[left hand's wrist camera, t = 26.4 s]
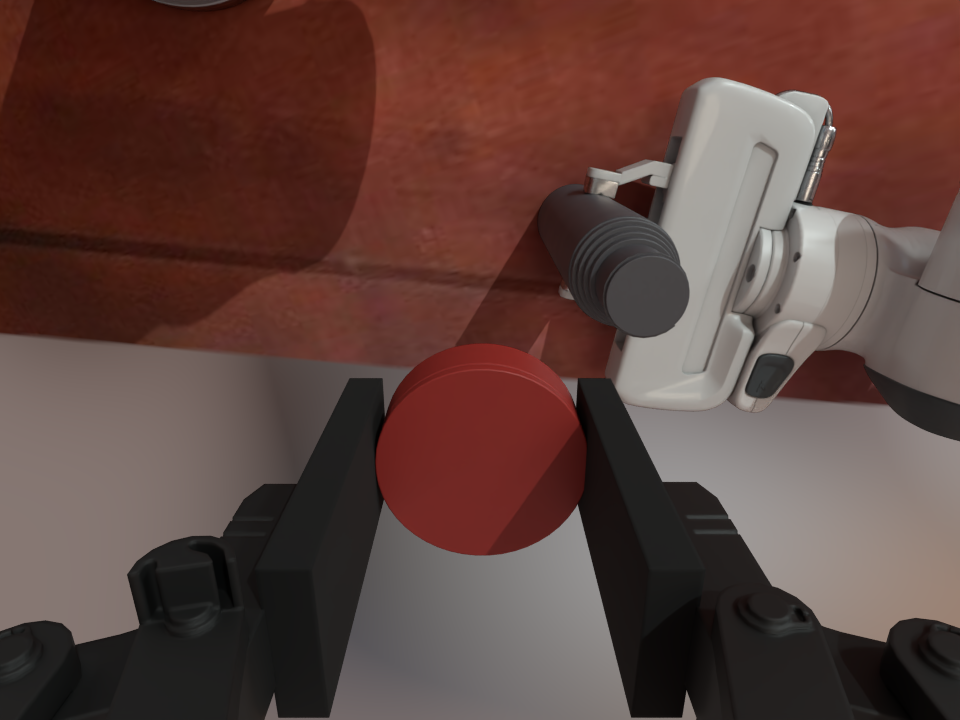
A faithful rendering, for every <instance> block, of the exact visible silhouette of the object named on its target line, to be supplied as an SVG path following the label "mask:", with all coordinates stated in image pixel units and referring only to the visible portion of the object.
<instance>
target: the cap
mask: <svg viewBox="0 0 960 720" xmlns="http://www.w3.org/2000/svg"><path fill="white" fill-rule="evenodd" d="M586 454H587V441H586V437H585V434H584V431H583V428H582V425H581V422H580V418H579V415H578V412H577V409H576V406H575V404H574V401H573V399H572V396H571V394H570V393H569V391H568V389H567V387H566V386H565V384H564V383H563V382H562V380H561V379H560V378H559V377H558V375H557V374H556V373H554V372H553V371H552V370H551V369H550V368H549V367H548V366H547V365H545V364H544V363H543V362H541V361H540V360H539V359H537V358H535V357H533V356H531V355H529V354H528V353H525V352H523V351H520V350H518V349H515V348H511V347H507V346H503V345H496V344H468V345H461V346H457V347H453V348H449V349H447V350H444V351H442V352H439V353H437V354H435V355H433V356H431V357H429V358H427V359H426V360H424V361H423V362H422V363H420V364H419V365H417V366H416V367H415V368H414V369H413V370H412V371H411V372H410V373H409V374H408V375H407V376H406V377H405V378H404V379H403V381H402V382H401V383H400V385H399V386H398V388H397V389H396V391H395V393H394V395H393V397H392V399H391V402H390V404H389V407H388V410H387V413H386V416H385V419H384V422H383V426H382V429H381V432H380V435H379V439H378V443H377V447H376V456H375V468H376V476H377V481H378V485H379V488H380V491H381V493H382V496H383V498H384V500H385V502H386V503H387V505H388V507H389V509H390V510H391V511H392V513H393V514H394V515H395V517H396V518H397V519H398V520H399V521H400V522H401V523H402V524H403V525H404V526H405V527H406V528H407V529H408V530H410V531H411V532H412V533H413V534H415V535H416V536H418V537H419V538H421V539H422V540H424V541H426V542H428V543H430V544H432V545H434V546H436V547H439V548H442V549H445V550H448V551H451V552H456V553H460V554H468V555H497V554H504V553H508V552H513V551H517V550H519V549H522V548H525V547H528V546H530V545H532V544H534V543H536V542H538V541H540V540H542V539H543V538H545V537H547V536H548V535H550V534H551V533H552V532H553V531H555V530H556V529H557V528H558V527H560V526H561V525H562V524H563V523H564V521H565V520H566V519H567V518H568V517H569V516H570V515H571V513H572V512H573V510H574V509H575V508H576V506H577V504H578V502H579V500H580V499H581V497H582V494H583V492H584V483H585V469H586Z"/></svg>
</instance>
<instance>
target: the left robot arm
mask: <svg viewBox="0 0 960 720" xmlns="http://www.w3.org/2000/svg"><path fill="white" fill-rule="evenodd" d="M153 1H156V2H158V3H161V4H164V5H167V6H170V7H174V8H178V9H183V10H190V11H212V10H219V9H224V8H228V7H231V6H234V5H237V4H240V3H242V2H244V1H246V0H153ZM576 409H577V412H578V415H579V418H580V422H581V425H582V428H583V431H584V434H585V437H586V441H587V454H586V469H585V483H584V492H583V494H582V497H581V499H580V500H579V502H578V507H579V511H580V515H581V519H582V523H583V527H584V531H585V535H586V539H587V543H588V547H589V551H590V555H591V559H592V563H593V567H594V571H595V575H596V579H597V583H598V587H599V591H600V595H601V599H602V603H603V607H604V611H605V615H606V619H607V623H608V627H609V631H610V635H611V639H612V643H613V647H614V651H615V655H616V659H617V663H618V667H619V671H620V674H621V678H622V683H623V686H624V691H625V695H626V698H627V703H628V706H629V711H630V715H631V717H632V718H681V717H682V715H683V708H684V702H685V695H686V690H687V692H688V695H689V698H690V700H691V703H692V706H693V709H694V712H695V715H696V717H697V719H696V720H960V628H957V627H954V626H951V625H948V624H946V623H943V622H940V621H936V620H928V619H920V618H913V619H908V620H902V621H899V622H898V623H897V624H896V625H894V626H893V627H892V628H891V629H890V632H889V635H888V638H887V642H886V643H885V642H881V641H877V640H873V639H868V638H864V637H860V636H855V635H851V634H847V633H843V632H839V631H836V630H833V629H829V628H826V627H823V626H821V624H820V623H819V621H818V619H817V618H816V616H815V615H814V613H813V611H812V610H811V609H810V608H809V607H807V606H806V605H805V604H804V603H803V602H802V601H800V600H799V599H798V598H797V597H795V596H793V595H791V594H789V593H787V592H785V591H783V590H781V589H779V588H776V587H773V586H772V585H771V584H770V582H769V581H768V579H767V577H766V576H765V574H764V573H763V571H762V569H761V568H760V566H759V565H758V563H757V561H756V560H755V558H754V556H753V555H752V553H751V552H750V550H749V548H748V547H747V545H746V544H745V542H744V540H743V539H742V537H741V535H739V534H738V533H737V529H736V527H735V526H734V524H733V523H732V521H731V520H730V519H728V515H727V513H726V511H725V510H724V508H723V507H722V505H721V503H720V502H719V500H718V498H717V497H716V496H714V495H713V494H712V493H710V492H709V491H708V490H706V489H705V488H704V487H702V486H701V485H700V484H698V483H697V482H662V480H661V478H660V476H659V474H658V472H657V470H656V468H655V466H654V464H653V462H652V460H651V458H650V456H649V454H648V452H647V450H646V448H645V446H644V444H643V442H642V440H641V438H640V436H639V434H638V432H637V430H636V428H635V426H634V424H633V422H632V420H631V418H630V416H629V414H628V412H627V410H626V408H625V406H624V404H623V402H622V400H621V398H620V396H619V394H618V392H617V390H616V388H615V386H614V384H613V382H612V380H611V378H578V386H577V402H576ZM384 419H385V412H384V395H383V379H382V378H350V379H349V381H348V383H347V385H346V387H345V389H344V391H343V393H342V395H341V397H340V399H339V401H338V403H337V405H336V407H335V409H334V411H333V413H332V415H331V417H330V419H329V421H328V423H327V425H326V427H325V429H324V431H323V433H322V435H321V437H320V439H319V441H318V443H317V445H316V447H315V449H314V451H313V453H312V455H311V457H310V459H309V461H308V463H307V465H306V467H305V469H304V471H303V473H302V475H301V477H300V479H299V481H298V483H297V484H264V485H262V486H261V487H260V488H258V489H257V490H256V491H254V492H253V493H252V494H250V495H249V496H248V497H246V498H245V499H244V500H243V502H242V503H241V505H240V506H239V508H238V510H237V511H236V513H235V515H234V516H233V520H232V521H230V523H229V524H228V526H227V528H226V529H225V531H224V532H223V537H220V538H216V537H213V536H191V537H187V538H183V539H178V540H174V541H171V542H168V543H166V544H164V545H162V546H159V547H157V548H155V549H153V550H151V551H150V552H149V553H147V554H146V555H145V556H143V557H142V558H141V559H139V560H138V561H137V562H136V563H135V564H134V566H133V567H132V569H131V570H130V571H129V573H128V574H127V576H128V580H129V584H130V588H131V592H132V596H133V600H134V604H135V608H136V612H137V616H138V620H139V624H140V625H139V628H138V629H136V630H133V631H130V632H126V633H123V634H120V635H116V636H111V637H107V638H103V639H99V640H94V641H90V642H86V643H81V644H77V645H75V643H74V640H73V636H72V633H71V631H70V630H69V629H67V628H66V627H65V626H64V625H63V624H62V623H56V622H51V621H46V620H45V621H37V622H29V623H23V624H20V625H17V626H14V627H12V628H9V629H6V630H3V631H0V720H264V719H265V716H266V713H267V710H268V708H269V705H270V702H271V699H272V697H273V694H274V693H275V699H276V706H277V712H278V717H279V718H329V716H330V712H331V708H332V704H333V700H334V696H335V692H336V688H337V684H338V680H339V676H340V672H341V668H342V664H343V660H344V656H345V652H346V648H347V644H348V640H349V636H350V632H351V628H352V624H353V620H354V616H355V612H356V608H357V604H358V600H359V596H360V593H361V589H362V584H363V581H364V577H365V573H366V569H367V565H368V561H369V557H370V553H371V549H372V545H373V541H374V537H375V533H376V529H377V525H378V521H379V516H380V513H381V509H382V505H383V501H384V498H383V496H382V493H381V491H380V488H379V485H378V481H377V476H376V468H375V456H376V447H377V443H378V439H379V435H380V432H381V429H382V426H383V422H384Z"/></svg>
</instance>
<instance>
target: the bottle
mask: <svg viewBox="0 0 960 720" xmlns="http://www.w3.org/2000/svg"><path fill="white" fill-rule="evenodd" d="M583 187H584V185H580V184H570V185H565V186H563V187H560V188H558V189H556V190H555V191H553V192H552V193H551V194H550V195H549V196H548V197H547V198H546V199H545V201H544V202H543V204H542V206H541V208H540V211H539V215H538V230H539V234H540V236H541V238H542V240H543V242H544V244H545V246H546V248H547V250H548V252H549V254H550V255H551V257H552V259H553V261H554V263H555V265H556V267H557V268H558V270H559V272H560V274H561V276H562V278H563V280H564V282H565V283H566V285H567V287H568V289H569V291H570V293H571V295H572V297H573V298H574V300H575V302H576V303H577V305H578V306H579V307H580V308H581V310H582V311H583V312H584V313H586V314H587V315H588V316H590V317H591V318H593V319H594V320H597V321H599V322H601V323H603V324H606V325H610V326H614V327H615V328H617V329H618V330H619V331H621V332H622V333H624V334H627V335H629V336H632V337H638V338H649V337H656V336H658V335H661V334H663V333H666V332H668V331H669V330H671V329H672V328H673V327H675V324H676V323H677V322H678V321H679V320H680V318H681V317H682V316H683V314H684V312H685V310H686V308H687V305H688V302H689V296H690V289H689V282H688V279H687V276H686V273H685V271H684V270H683V268H682V267H681V265H680V258H679V254H678V251H677V249H676V247H675V244H674V242H673V241H672V239H671V237H670V236H669V235H668V234H667V232H666V231H665V230H663V229H662V228H661V227H660V226H658V225H657V224H656V223H654V222H652V221H650V220H648V219H647V218H645V217H643V216H641V215H639V214H637V213H636V212H634V211H632V210H630V209H628V208H627V207H625V206H623V205H621V204H619V203H618V202H616V201H614V200H612V199H610V198H608V197H605V196H603V195H601V194H598V195H594V194H589V193H585V192H584V191H583Z"/></svg>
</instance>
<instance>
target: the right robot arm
mask: <svg viewBox="0 0 960 720" xmlns="http://www.w3.org/2000/svg"><path fill="white" fill-rule="evenodd" d="M824 118H825V125H822V123H823V121H824ZM832 125H833V113H832V109H831V107H830V105H829V103H828V102H827V101H826V100H825V99H824V98H823V97H821V96H819V95H817V94H812V93H808V92H803V91H798V90H785V91H782V92H779V93H777V94H776V95H774V94H771V93H769V92H766V91H763V90H761V89H758V88H755V87H752V86H749V85H746V84H743V83H739V82H736V81H732V80H728V79H724V78H716V77H713V78H706V79H703V80H700V81H698V82H697V83H695V84H693V85H692V86H690V87H688V88H687V89H686V90H684V92H683V93H682V96H681V99H680V103H679V106H678V110H677V114H676V117H675V121H674V124H673V128H672V132H671V135H670V139H669V142H668V146H667V150H666V153H665V157H664V160H663V162H658V161H652V160H647V159H645V160H643V161H640V162H637V163H634V164H632V165H629V166H626V167H623V168H620V169H618V170H616V172H612V171H607V170H602V169H597V168H591V167H588V170H587V174H586V178H585V183H584V187H583V191H584V192H585V193H589V194H594V195H598V194H601V195H603V196H605V197H608V198H614V199H615V195H616V192H617V188H618V185H622V184H625V183H628V182H630V181H633V180H636V179H639V178H641V181H642V182H643V183H646V184H649V185H652V186H656V189H655V193H654V196H653V200H652V204H651V207H650V211H649V214H648V218H647V219H648V220H650V221H652V222H654V223H656V224H657V225H658V226H660V227H661V228H662V229H663V230H665V231H666V232H667V234H668V235H669V236H670V237H671V239H672V241H673V242H674V244H675V247H676V249H677V251H678V254H679V258H680V265H681V267H682V268H683V270H684V271H685V273H686V276H687V279H688V282H689V289H690V296H689V302H688V305H687V308H686V310H685V312H684V314H683V316H682V317H681V318H680V320H679V321H678V322H677V323H676V324H675V327H673V328H672V329H671V330H669V331H668V332H666V333H663V334H661V335H658V336H656V337H649V338H638V337H632V336H629V335H627V334H624V333H622V332H621V331H619V330H618V329H617V330H616V333H615V337H614V341H613V344H612V348H611V352H610V355H609V359H608V362H607V366H606V369H605V377H606V378H611V380H612V382H613V384H614V386H615V388H616V390H617V392H618V394H619V396H620V398H621V400H622V402H624V403H626V404H629V405H633V406H639V407H645V408H652V409H661V410H673V411H704V410H709V409H712V408H715V407H717V406H719V405H721V404H722V403H723V402H724V401H726V400H728V401H729V402H730V403H731V404H733V405H734V406H736V407H737V408H739V409H740V410H743V411H747V412H753V413H757V412H761V411H763V410H764V409H765V408H767V407H768V406H769V404H770V403H771V402H772V401H773V399H774V398H775V397H776V396H777V394H778V393H779V392H780V390H781V389H782V388H783V386H784V385H785V384H786V383H787V381H788V380H789V379H790V378H791V376H792V375H793V374H794V373H795V372H796V370H797V369H798V368H799V367H800V366H801V365H802V364H803V362H804V361H805V360H806V359H807V358H808V357H809V356H810V355H811V354H812V353H813V352H814V351H824V350H844V351H850V352H853V353H856V354H858V355H860V356H862V357H864V359H865V364H864V368H865V370H866V372H867V374H868V376H869V378H870V379H871V381H872V382H873V384H874V385H875V386H876V388H877V389H878V391H879V392H880V393H881V395H882V396H883V398H884V399H885V400H886V402H887V403H888V405H889V406H890V407H891V408H892V409H893V410H894V411H895V412H896V413H897V414H898V415H900V416H901V417H902V418H904V419H905V420H907V421H908V422H910V423H912V424H914V425H916V426H917V427H919V428H921V429H924V430H926V431H928V432H931V433H934V434H937V435H940V436H943V437H946V438H950V439H953V440H957V441H960V189H959V191H958V193H957V196H956V198H955V200H954V202H953V205H952V207H951V209H950V212H949V214H948V216H947V219H946V221H945V223H944V225H943V228H942V230H941V231H937V230H932V229H927V228H922V227H901V228H888V227H884V226H882V225H880V224H878V223H876V222H875V221H873V220H871V219H869V218H867V217H864V216H861V215H857V214H853V213H848V212H843V211H838V210H833V209H828V208H823V207H817V206H813V205H812V201H813V199H814V196H815V193H816V190H817V188H818V185H819V182H820V179H821V176H822V174H821V173H822V172H823V169H822V168H823V167H824V163H825V159H826V157H827V155H828V152H829V151H830V150H831V148H832V146H833V144H834V141H835V137H836V130H837V128H836V127H832ZM794 200H795V201H794ZM559 294H560V296H561V297H563V298H566V299H571V300H574V298H573V297H572V295H571V293H570V291H569V289H568V287H567V285H566V283H565V282H564V280H563V278H562V279H561V283H560V287H559Z"/></svg>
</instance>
